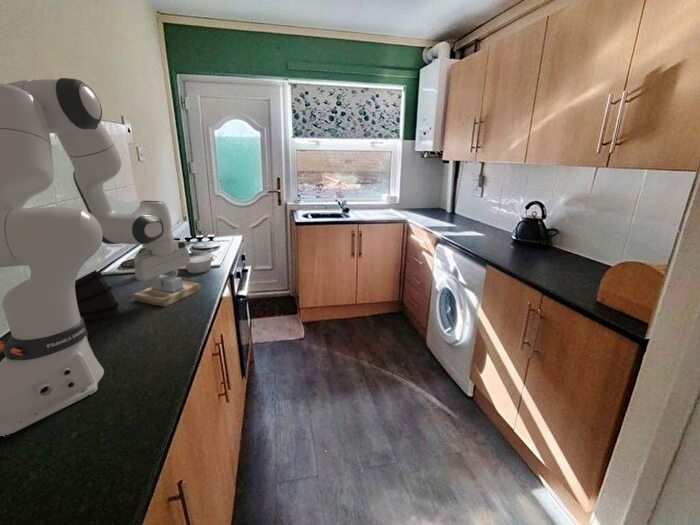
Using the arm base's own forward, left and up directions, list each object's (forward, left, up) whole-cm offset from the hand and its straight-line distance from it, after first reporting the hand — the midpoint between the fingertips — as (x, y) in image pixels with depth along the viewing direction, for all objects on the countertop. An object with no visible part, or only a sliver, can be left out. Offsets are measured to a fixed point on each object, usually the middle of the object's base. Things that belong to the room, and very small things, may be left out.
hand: (167, 284), depth 122 cm
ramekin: (+26, +11, -5) cm, 29 cm away
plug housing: (0, 0, -2) cm, 2 cm away
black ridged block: (-22, +7, -4) cm, 24 cm away
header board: (0, 0, -4) cm, 4 cm away
